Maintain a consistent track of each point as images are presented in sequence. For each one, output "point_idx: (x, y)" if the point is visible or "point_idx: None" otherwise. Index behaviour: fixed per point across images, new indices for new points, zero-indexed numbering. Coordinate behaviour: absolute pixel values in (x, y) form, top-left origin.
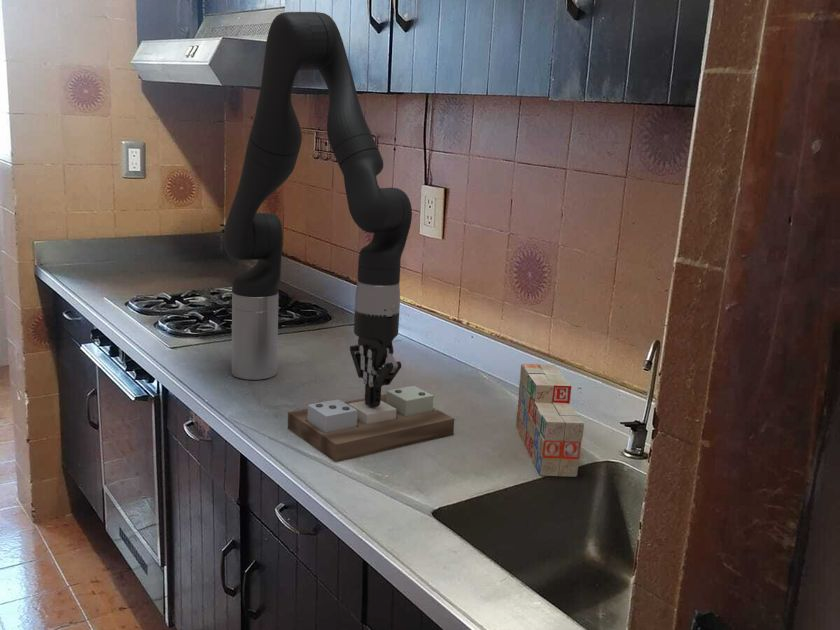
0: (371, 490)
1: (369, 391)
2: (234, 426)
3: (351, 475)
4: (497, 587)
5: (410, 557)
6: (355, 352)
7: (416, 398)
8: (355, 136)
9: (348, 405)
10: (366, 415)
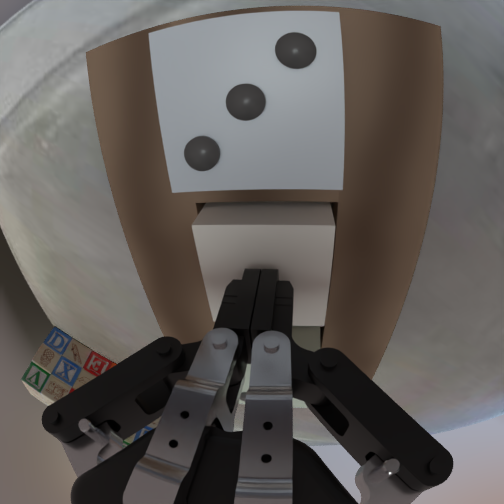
0: (13, 99)
1: (237, 311)
2: None
3: (57, 74)
4: None
5: None
6: (389, 468)
7: None
8: None
9: (242, 186)
10: (197, 222)
